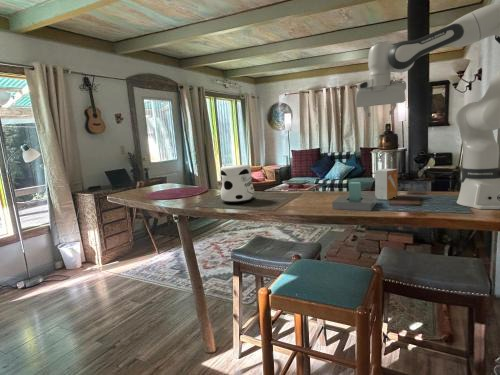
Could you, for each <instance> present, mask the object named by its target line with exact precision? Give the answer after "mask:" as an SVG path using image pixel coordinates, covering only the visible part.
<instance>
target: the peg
mask: <svg viewBox="0 0 500 375" xmlns="http://www.w3.org/2000/svg"><path fill="white" fill-rule="evenodd" d="M348 195H349V200H356V201H361V196H362V184H361V181H351V182H348Z"/></svg>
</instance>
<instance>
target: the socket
mask: <svg viewBox="0 0 500 375" xmlns="http://www.w3.org/2000/svg"><path fill="white" fill-rule="evenodd" d="M377 201H378V199H377V196H375V195H361V201H356V200H349V194H347V195H346V194H342V195H340V196H338V197H337V198H336V199H334V200H333V201H332V202H331V203H332V209H333V210H346V211H365V212H366V211H367V212H369V211H370V212H371V211H372V210H373V208H374V207H375V206H376V204H377V203H378V202H377Z"/></svg>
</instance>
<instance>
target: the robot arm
mask: <svg viewBox="0 0 500 375" xmlns="http://www.w3.org/2000/svg"><path fill="white" fill-rule="evenodd" d="M493 36H494V40H495V41H496V42H497V43H498V44H499V45H500V1H499V2H494V3H491V4H487V5H485V6H482V7H480V8H477V9H475V10H473V11H470V12H468V13H466V14H464V15H462V16H460V17H459V18H457V19H456V20H454V21H453V22H451V23H449V24H447V25H446V26H444V27H442V28H440V29H438V30H436V31H434V32H431V33H429V34H426V35H425V36H422V37H419V38H417V39H413V40H402V41H398V42H397V43H395V44H392V43H390V42H389V41H387V40H386V41H380V42H377V43H375V44H373V45H371V47H370V48H369V51H368V59H367V60H368V62H367V63H368V64H367V66H368V67H367V68H368V79H367V80H364V81H362V82H361V83H359V84H357V89H358V90H357V91H356V93H355V99H354V100H355V101H354V103H355V104H354V105H355V107H356V108H363V111H364V112H365V114H366V118H370V117H371V112H369V111H368V108H369V107H374V106H384V105H391V106H392V108H391V110H389V115H390V116H391V115H392V116H394V111H395V109H396V108H397V104H401V103H403V104H404V103H405V102H406V90H407V82H406V81H405V80H402V79H399V80H392V79H391V78H392V77H391V74H392V73H405V72H408V71H409V70H410V69H411V68H412V67H413V66H414V64H415V62H416V61H417V59H419V58H420V57H422V56H425V55H427V54H429V53H431V52H434V51H436V50H439V49H441V48H445V47H453V48H456V49H458V48H462V47H466V46H469V45H472V44H473V45H474V44H475V43H477V42H480V41H482V40H484V39H486V38H489V37H493ZM391 80H392V81H391ZM455 121H456V122H455V123H456V124H457V126H458V128H459V132H460V139H461V143H462V167H461V168H460V190H459V194H458V197H457V200H456V203H457V205H460V206H463V207H469V208H474V209H479V210H500V167H499V159H500V158H499V156H500V146H499V144H498V142H497V141H496V138H495V135H494V134H495V133H494V132H493V131H495V130H499V129H500V69H499V70H497V72H496V74H495V75H494V76H493V77H492V78H491V79H490V80H489V86H488V88H487V90H486V92H485V93H484V95H483V96H482V97H481V98H480V100H478V101H474V102H473V101H472V102H469V103H467V104H465V105H463V107H461V108H460V109H459V110H458V111H457V113H456V115H455Z"/></svg>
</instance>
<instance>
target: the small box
mask: <svg viewBox="0 0 500 375" xmlns="http://www.w3.org/2000/svg"><path fill="white" fill-rule="evenodd" d="M398 170H399V169H398V168H382V169H377V170H375V171H374V186H375V187H374V191H375V192H374V196H377V200H378V199H379V200H384V201H385V200H387V201H388V200H391V199H394V198H393V197H395V198H397V197H398ZM396 196H397V197H396Z"/></svg>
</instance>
